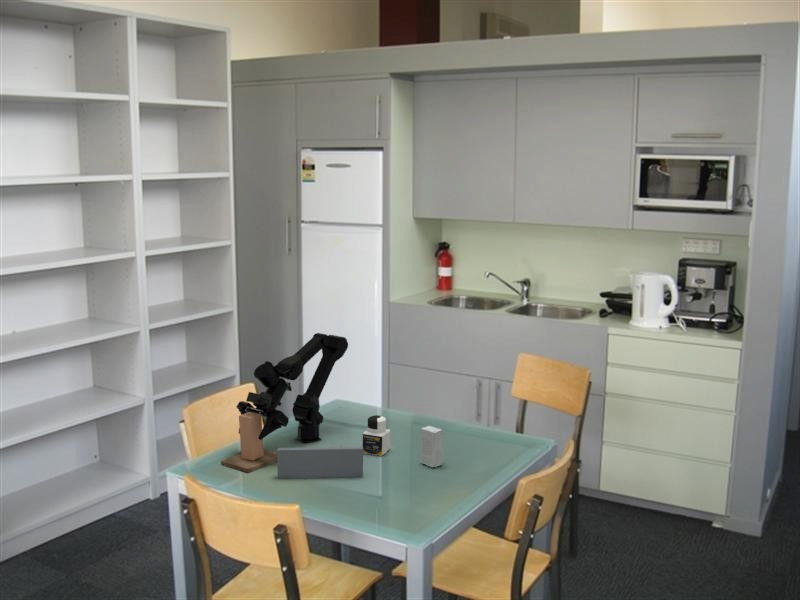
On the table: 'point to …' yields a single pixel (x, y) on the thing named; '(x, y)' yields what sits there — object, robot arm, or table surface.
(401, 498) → the table surface
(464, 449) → the table surface
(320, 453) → the slate screen
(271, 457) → the walnut board
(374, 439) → the medicine bottle
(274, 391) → the robot arm
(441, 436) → the skincare box
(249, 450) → the terracotta block
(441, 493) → the table surface
